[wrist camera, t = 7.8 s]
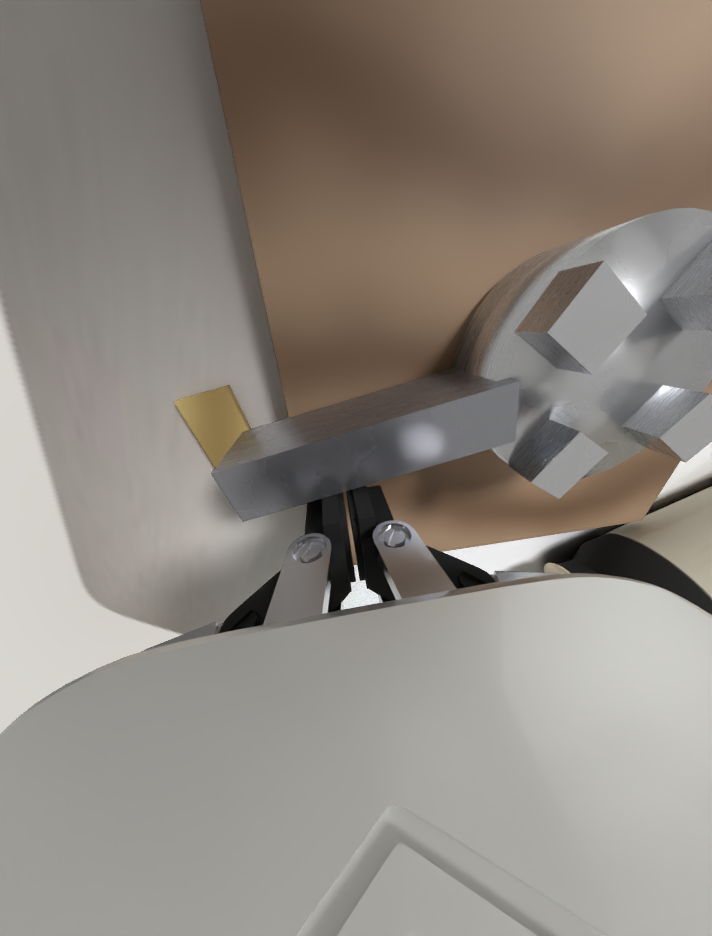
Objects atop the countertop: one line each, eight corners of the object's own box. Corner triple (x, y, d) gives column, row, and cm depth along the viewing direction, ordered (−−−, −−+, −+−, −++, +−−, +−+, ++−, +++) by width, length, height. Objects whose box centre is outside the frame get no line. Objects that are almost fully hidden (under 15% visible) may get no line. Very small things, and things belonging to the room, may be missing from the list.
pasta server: (667, 212, 9) (916, 128, 5) (610, 424, 13) (726, 462, 9) (202, 356, 9) (123, 375, 5) (288, 518, 13) (276, 591, 9)
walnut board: (-29, -90, 6) (-131, -212, 4) (937, -61, 8) (1063, -140, 6) (246, 562, 17) (240, 582, 15) (619, 507, 19) (641, 520, 17)
